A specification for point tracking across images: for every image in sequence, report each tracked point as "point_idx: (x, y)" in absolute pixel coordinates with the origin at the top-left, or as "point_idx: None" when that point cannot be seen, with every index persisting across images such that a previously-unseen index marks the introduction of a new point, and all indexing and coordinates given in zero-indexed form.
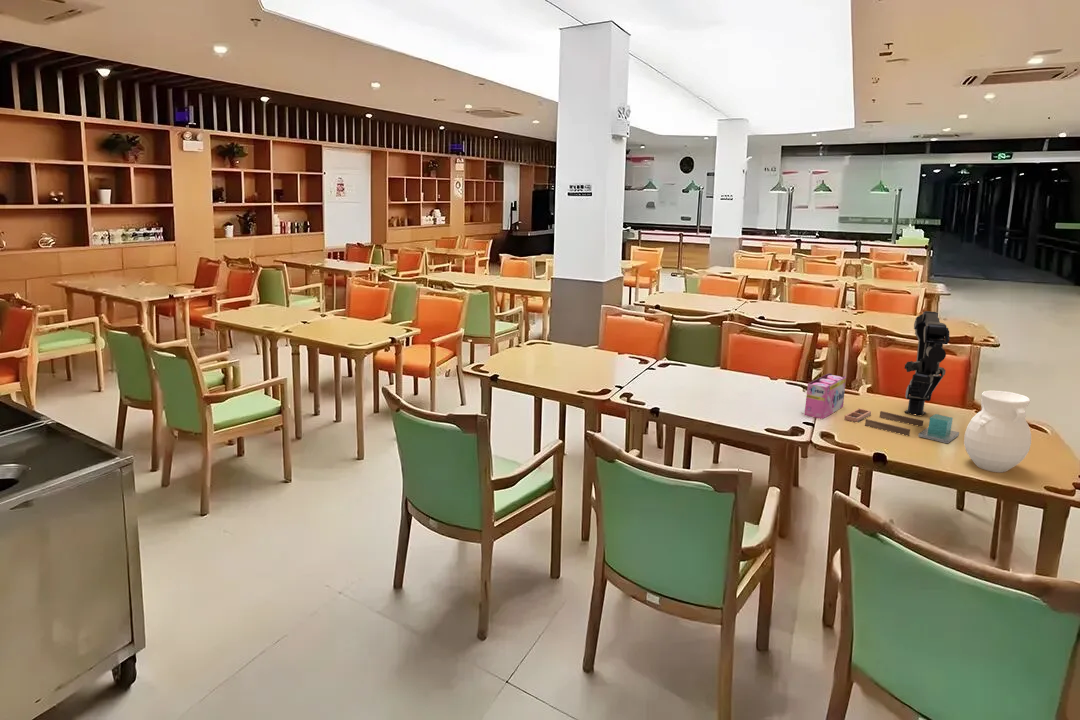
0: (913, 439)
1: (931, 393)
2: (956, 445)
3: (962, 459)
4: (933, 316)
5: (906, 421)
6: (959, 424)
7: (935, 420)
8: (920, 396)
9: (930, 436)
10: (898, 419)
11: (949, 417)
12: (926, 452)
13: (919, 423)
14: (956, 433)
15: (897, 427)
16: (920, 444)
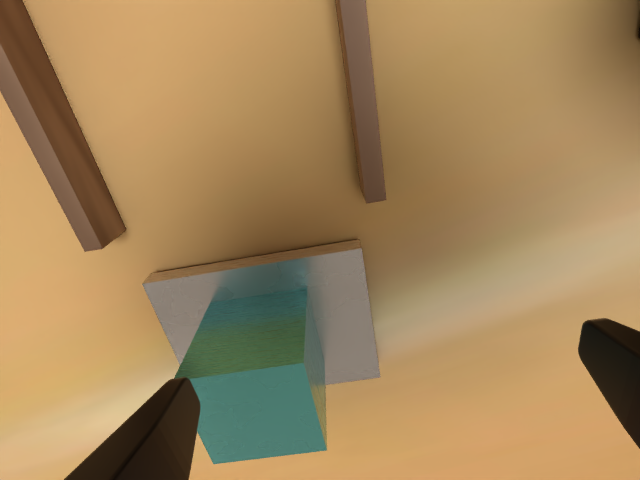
0: (93, 275)
1: (590, 356)
2: None
3: None
4: None
5: (346, 78)
6: (608, 283)
7: None
8: (155, 400)
9: (168, 335)
10: (337, 2)
11: (311, 439)
12: (4, 386)
13: (361, 176)
14: (344, 379)
15: (46, 174)
16: (65, 328)
